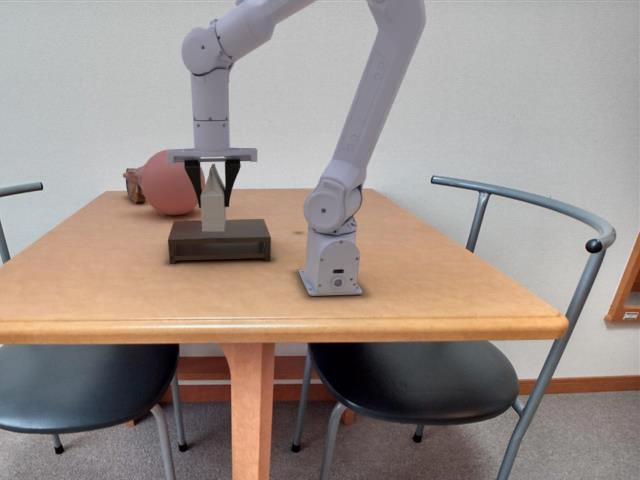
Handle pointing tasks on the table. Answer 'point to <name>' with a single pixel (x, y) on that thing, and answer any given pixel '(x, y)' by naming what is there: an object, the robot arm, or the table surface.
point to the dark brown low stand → (219, 241)
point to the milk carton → (213, 203)
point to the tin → (134, 190)
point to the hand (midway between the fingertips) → (214, 206)
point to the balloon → (165, 185)
